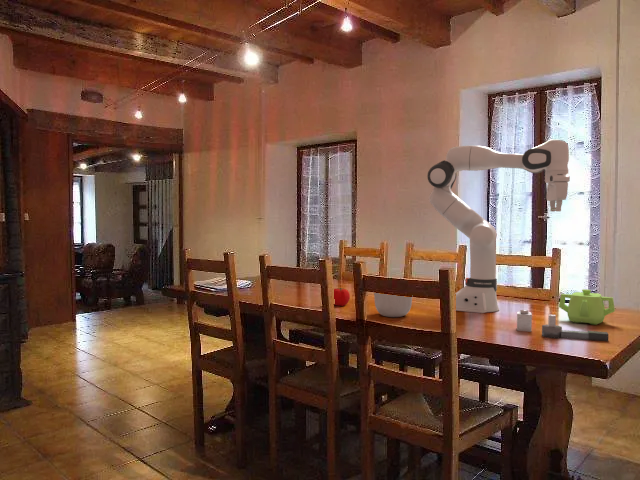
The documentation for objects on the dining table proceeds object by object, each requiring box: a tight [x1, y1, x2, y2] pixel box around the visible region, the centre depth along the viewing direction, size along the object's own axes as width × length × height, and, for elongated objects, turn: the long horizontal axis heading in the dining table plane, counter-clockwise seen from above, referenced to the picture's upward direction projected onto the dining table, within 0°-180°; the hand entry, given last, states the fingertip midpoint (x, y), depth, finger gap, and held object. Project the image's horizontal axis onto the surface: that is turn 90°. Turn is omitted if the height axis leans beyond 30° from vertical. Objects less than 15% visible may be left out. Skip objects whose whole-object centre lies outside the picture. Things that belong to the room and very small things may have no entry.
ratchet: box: [541, 314, 609, 342], centre depth 184 cm, size 21×6×8 cm, turn 70°
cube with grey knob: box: [516, 309, 533, 333], centre depth 197 cm, size 5×5×7 cm
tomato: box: [333, 287, 351, 307], centre depth 250 cm, size 9×10×8 cm
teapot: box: [558, 288, 616, 326], centre depth 209 cm, size 18×20×13 cm
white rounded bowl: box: [373, 292, 413, 318], centre depth 225 cm, size 17×17×15 cm
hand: (555, 211), depth 222 cm, fingers open, 8 cm apart
